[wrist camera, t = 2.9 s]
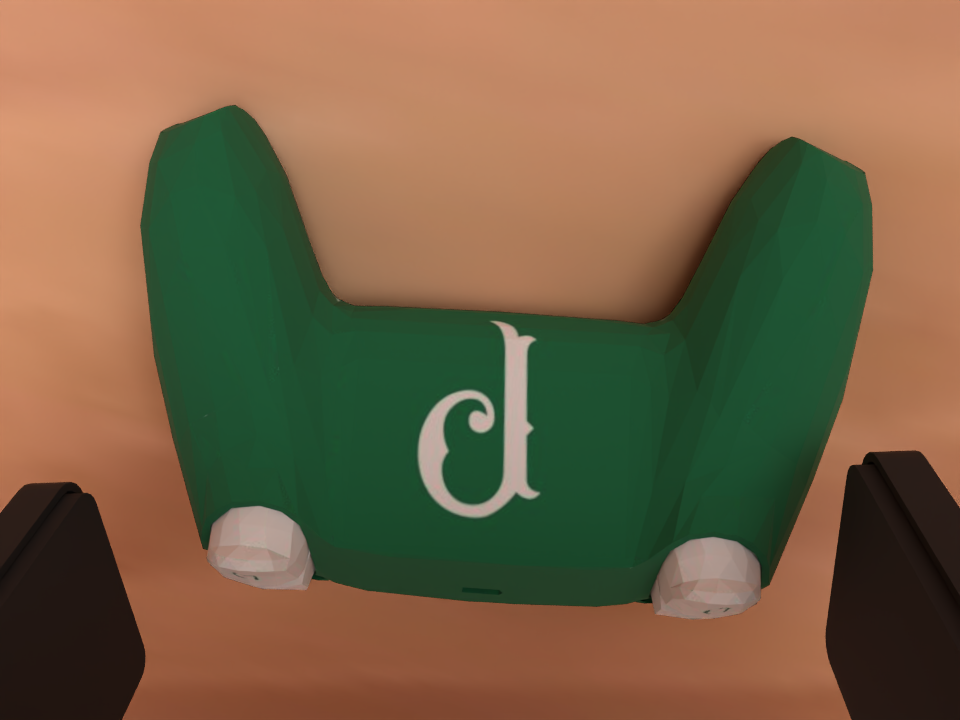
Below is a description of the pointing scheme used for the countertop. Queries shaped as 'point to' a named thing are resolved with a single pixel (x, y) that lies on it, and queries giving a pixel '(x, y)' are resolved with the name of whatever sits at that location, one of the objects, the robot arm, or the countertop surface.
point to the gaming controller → (498, 399)
